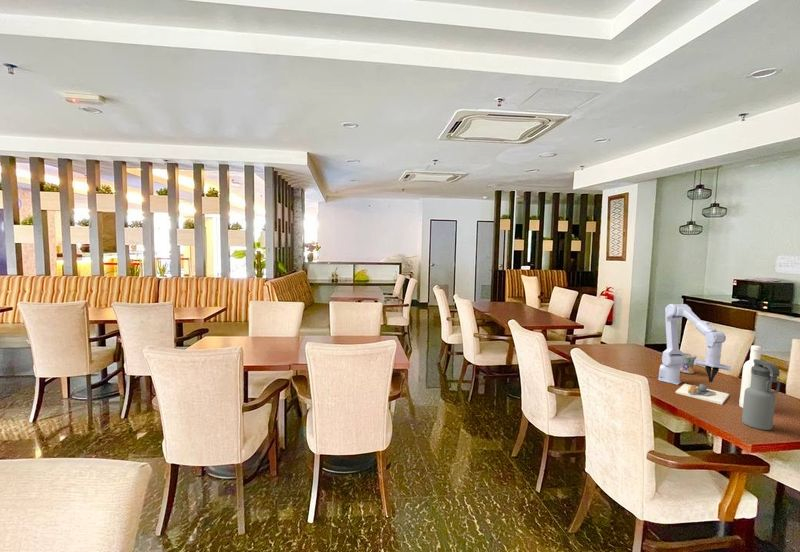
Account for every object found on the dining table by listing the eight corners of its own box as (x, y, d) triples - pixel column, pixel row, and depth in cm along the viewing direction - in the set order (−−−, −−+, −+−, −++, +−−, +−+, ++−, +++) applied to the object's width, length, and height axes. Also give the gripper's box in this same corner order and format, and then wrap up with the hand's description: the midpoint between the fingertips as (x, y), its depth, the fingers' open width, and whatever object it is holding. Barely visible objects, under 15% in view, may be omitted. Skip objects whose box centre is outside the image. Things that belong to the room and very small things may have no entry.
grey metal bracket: (699, 388, 210) (700, 380, 209) (715, 394, 202) (716, 385, 202) (682, 391, 205) (683, 383, 205) (698, 396, 197) (699, 388, 197)
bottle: (763, 413, 183) (770, 349, 181) (741, 409, 187) (747, 346, 184) (758, 406, 190) (764, 345, 187) (737, 403, 194) (743, 343, 191)
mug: (697, 375, 235) (699, 358, 234) (679, 373, 238) (681, 356, 237) (689, 369, 247) (691, 352, 246) (672, 367, 249) (674, 351, 249)
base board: (675, 393, 206) (676, 383, 205) (684, 385, 218) (685, 376, 217) (721, 404, 191) (722, 394, 191) (729, 395, 203) (729, 386, 203)
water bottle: (779, 430, 165) (787, 365, 163) (760, 432, 164) (767, 365, 161) (754, 419, 175) (760, 358, 173) (735, 420, 174) (741, 358, 171)
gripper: (694, 353, 199) (692, 380, 201) (732, 360, 191) (729, 387, 192) (695, 351, 205) (692, 376, 206) (731, 356, 196) (729, 383, 197)
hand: (710, 381), depth 199 cm, fingers closed
